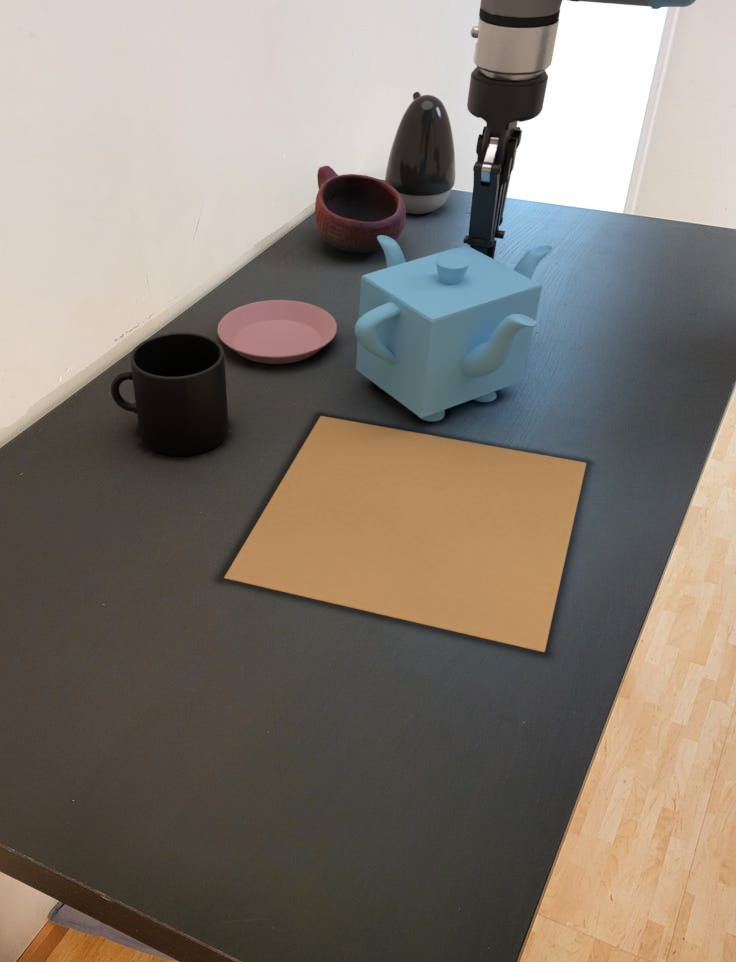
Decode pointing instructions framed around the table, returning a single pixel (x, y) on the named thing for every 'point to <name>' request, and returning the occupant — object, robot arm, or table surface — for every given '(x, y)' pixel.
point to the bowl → (357, 211)
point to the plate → (277, 331)
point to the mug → (177, 393)
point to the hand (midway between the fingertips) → (474, 296)
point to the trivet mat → (419, 530)
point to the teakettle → (446, 326)
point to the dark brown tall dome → (423, 156)
